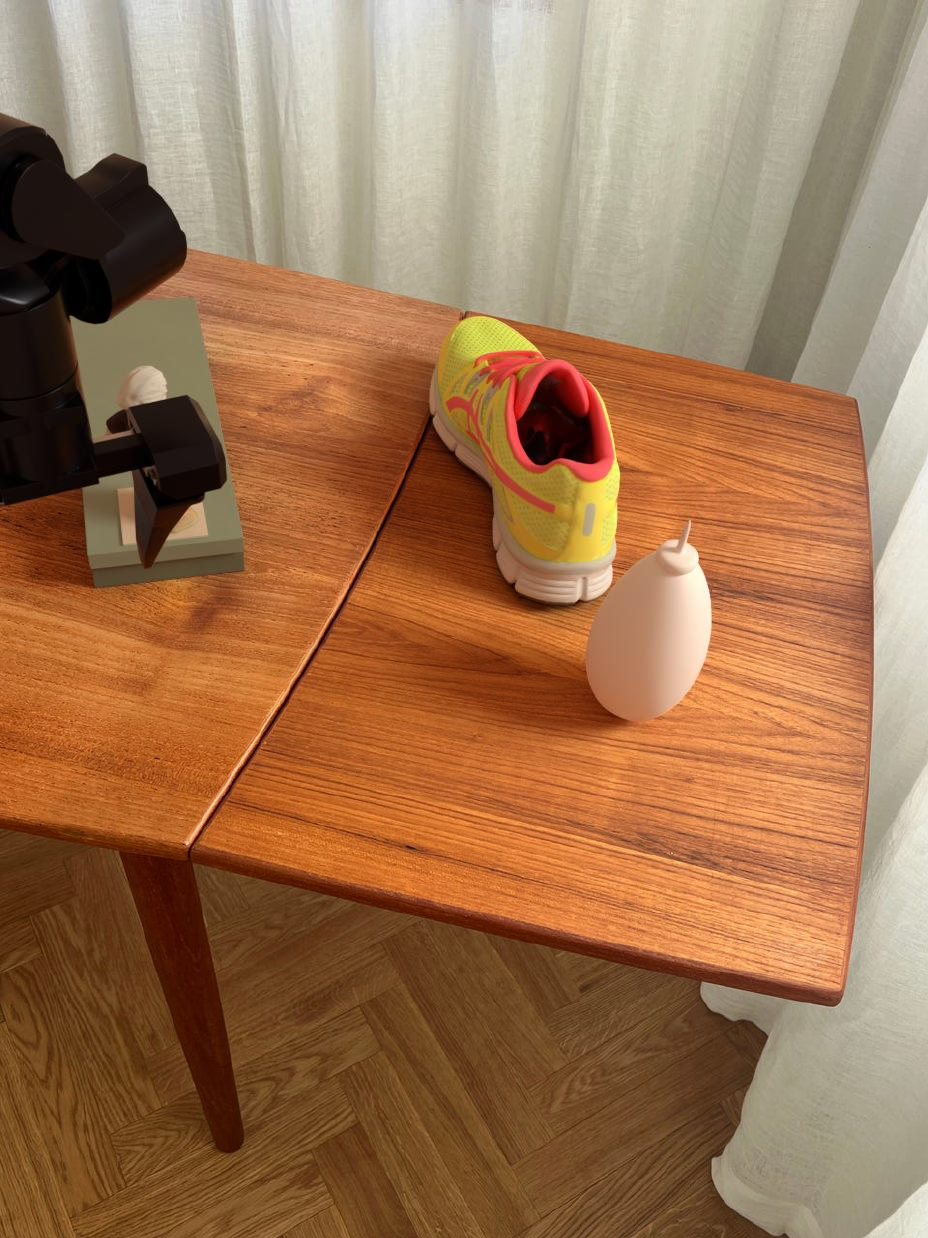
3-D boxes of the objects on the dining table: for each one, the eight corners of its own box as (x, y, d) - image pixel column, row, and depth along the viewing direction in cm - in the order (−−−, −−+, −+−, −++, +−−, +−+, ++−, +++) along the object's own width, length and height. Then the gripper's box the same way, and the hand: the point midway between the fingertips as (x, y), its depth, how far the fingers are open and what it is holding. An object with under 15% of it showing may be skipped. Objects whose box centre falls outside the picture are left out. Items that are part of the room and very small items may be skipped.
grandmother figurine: (220, 510, 83) (208, 368, 73) (197, 543, 80) (182, 401, 71) (125, 483, 84) (102, 340, 74) (100, 515, 81) (72, 371, 72)
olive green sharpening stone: (246, 575, 84) (243, 535, 81) (95, 593, 82) (86, 552, 79) (198, 334, 104) (194, 294, 101) (76, 342, 102) (68, 301, 99)
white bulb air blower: (604, 645, 83) (660, 460, 70) (698, 695, 81) (774, 514, 68) (553, 711, 79) (602, 526, 65) (650, 767, 76) (722, 586, 63)
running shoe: (528, 365, 107) (551, 227, 96) (664, 599, 87) (713, 459, 77) (405, 378, 103) (415, 237, 93) (518, 625, 84) (548, 482, 73)
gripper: (155, 252, 63) (180, 465, 74) (-213, 310, 56) (-123, 535, 67) (221, 363, 56) (237, 577, 68) (-185, 444, 49) (-91, 667, 61)
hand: (68, 584), depth 66 cm, fingers open, 9 cm apart
